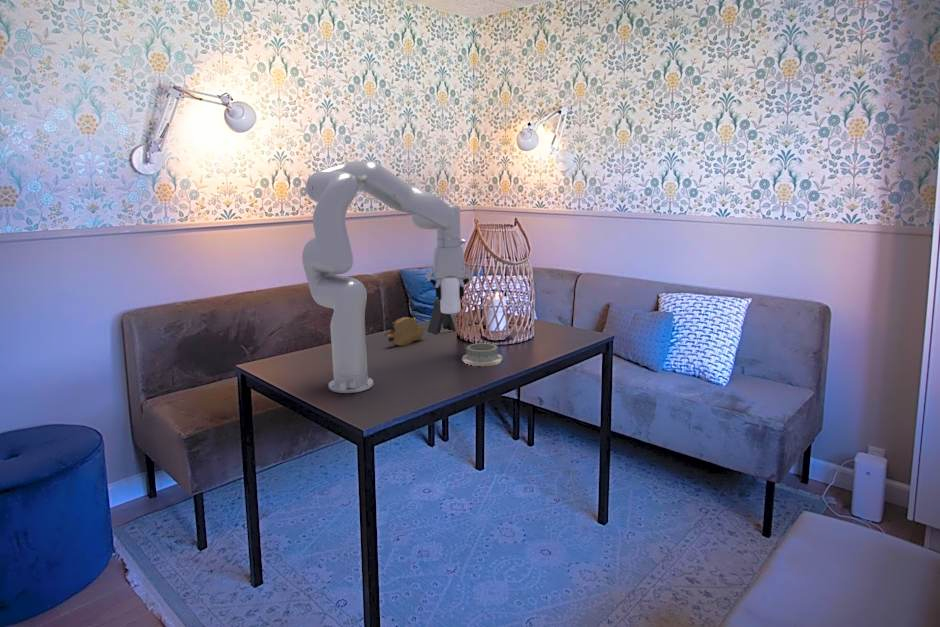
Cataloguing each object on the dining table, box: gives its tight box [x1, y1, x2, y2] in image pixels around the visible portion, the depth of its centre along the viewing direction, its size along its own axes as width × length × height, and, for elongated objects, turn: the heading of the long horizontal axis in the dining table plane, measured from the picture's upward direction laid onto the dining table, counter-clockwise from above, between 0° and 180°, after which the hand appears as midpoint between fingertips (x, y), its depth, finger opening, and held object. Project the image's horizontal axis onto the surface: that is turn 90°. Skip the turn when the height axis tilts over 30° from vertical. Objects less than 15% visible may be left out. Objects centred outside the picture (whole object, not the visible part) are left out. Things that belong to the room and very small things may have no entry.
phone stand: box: [427, 299, 456, 334], centre depth 243 cm, size 9×6×12 cm, turn 126°
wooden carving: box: [384, 316, 425, 347], centre depth 225 cm, size 16×5×10 cm, turn 139°
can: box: [440, 277, 461, 315], centre depth 207 cm, size 6×6×12 cm
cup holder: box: [461, 342, 503, 368], centre depth 205 cm, size 13×13×4 cm
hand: (449, 298), depth 207 cm, fingers closed on can, 6 cm apart
